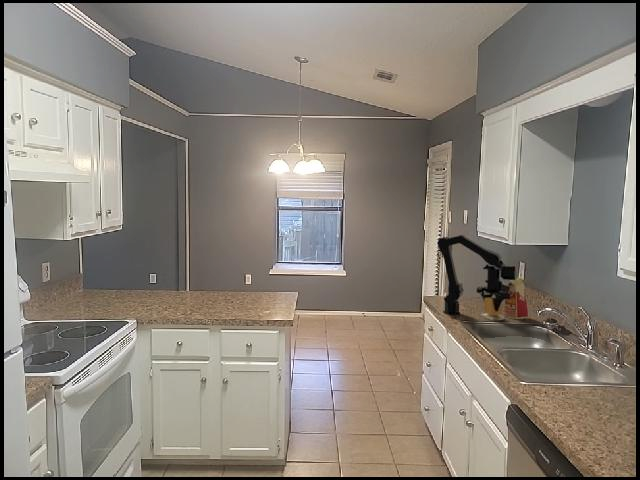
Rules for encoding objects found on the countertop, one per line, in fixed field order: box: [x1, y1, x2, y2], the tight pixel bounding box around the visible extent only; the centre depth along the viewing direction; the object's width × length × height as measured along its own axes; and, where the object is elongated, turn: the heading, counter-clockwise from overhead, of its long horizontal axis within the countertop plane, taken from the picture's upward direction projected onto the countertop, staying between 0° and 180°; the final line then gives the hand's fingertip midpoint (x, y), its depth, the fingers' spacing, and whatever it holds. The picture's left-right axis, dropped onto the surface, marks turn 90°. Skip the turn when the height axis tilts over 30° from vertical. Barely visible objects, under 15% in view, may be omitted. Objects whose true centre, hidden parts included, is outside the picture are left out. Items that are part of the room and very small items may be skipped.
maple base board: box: [480, 313, 506, 322], centre depth 234 cm, size 7×9×1 cm
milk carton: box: [503, 276, 530, 320], centre depth 235 cm, size 9×9×20 cm
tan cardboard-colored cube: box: [483, 296, 503, 315], centre depth 234 cm, size 6×6×8 cm
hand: (492, 309), depth 234 cm, fingers closed on tan cardboard-colored cube, 6 cm apart
